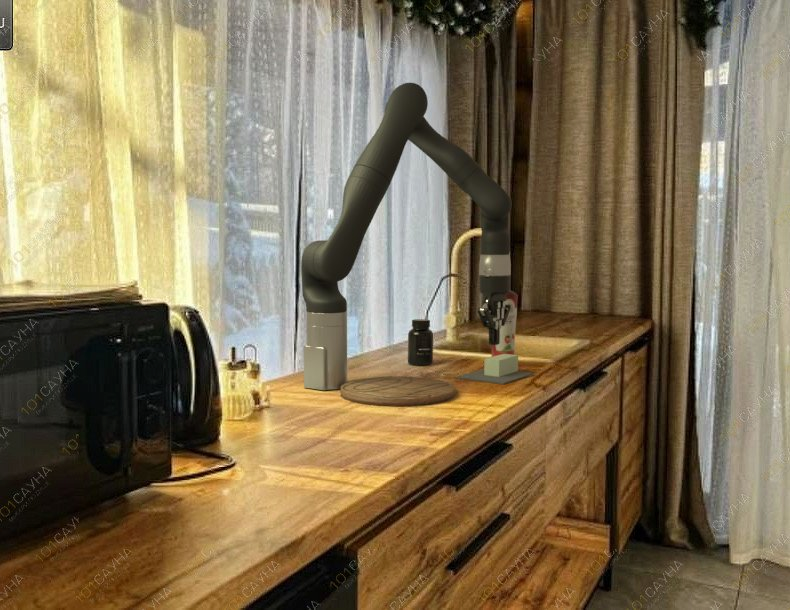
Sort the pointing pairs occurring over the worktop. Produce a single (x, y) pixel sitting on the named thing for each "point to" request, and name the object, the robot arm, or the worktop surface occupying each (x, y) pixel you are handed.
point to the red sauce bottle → (507, 329)
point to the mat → (494, 377)
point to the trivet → (397, 391)
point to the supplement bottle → (420, 343)
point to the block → (501, 365)
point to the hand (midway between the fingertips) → (494, 344)
